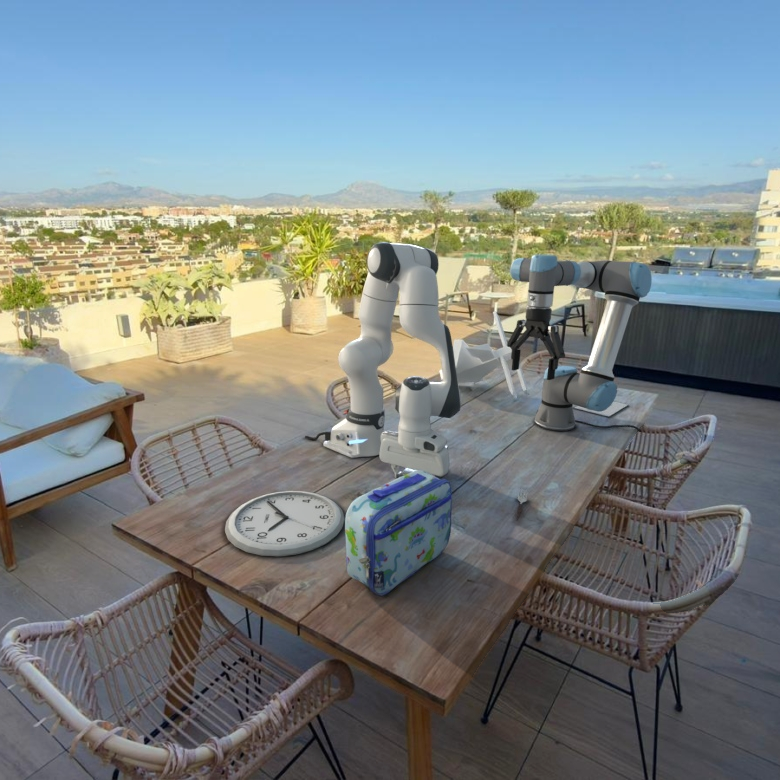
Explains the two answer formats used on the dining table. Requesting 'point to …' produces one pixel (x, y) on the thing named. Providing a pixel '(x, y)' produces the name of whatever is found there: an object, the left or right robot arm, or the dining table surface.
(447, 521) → the lunch box
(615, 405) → the invitation card
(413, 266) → the left robot arm
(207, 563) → the dining table surface
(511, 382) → the white plastic object
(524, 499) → the fork
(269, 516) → the wall clock
